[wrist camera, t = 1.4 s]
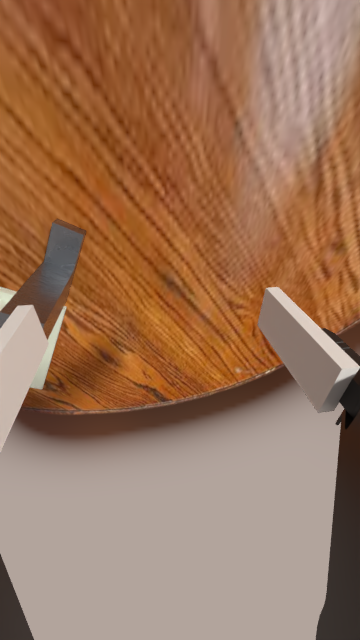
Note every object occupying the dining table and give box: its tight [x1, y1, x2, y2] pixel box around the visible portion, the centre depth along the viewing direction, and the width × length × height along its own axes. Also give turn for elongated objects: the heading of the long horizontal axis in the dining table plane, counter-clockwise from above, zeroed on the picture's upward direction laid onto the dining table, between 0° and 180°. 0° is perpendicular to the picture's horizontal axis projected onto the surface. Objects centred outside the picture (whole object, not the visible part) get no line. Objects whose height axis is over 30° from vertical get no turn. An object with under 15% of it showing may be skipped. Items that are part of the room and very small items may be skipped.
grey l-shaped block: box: [0, 219, 86, 340], centre depth 27 cm, size 4×11×14 cm, turn 153°
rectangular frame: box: [0, 287, 66, 389], centre depth 37 cm, size 12×18×4 cm, turn 153°
